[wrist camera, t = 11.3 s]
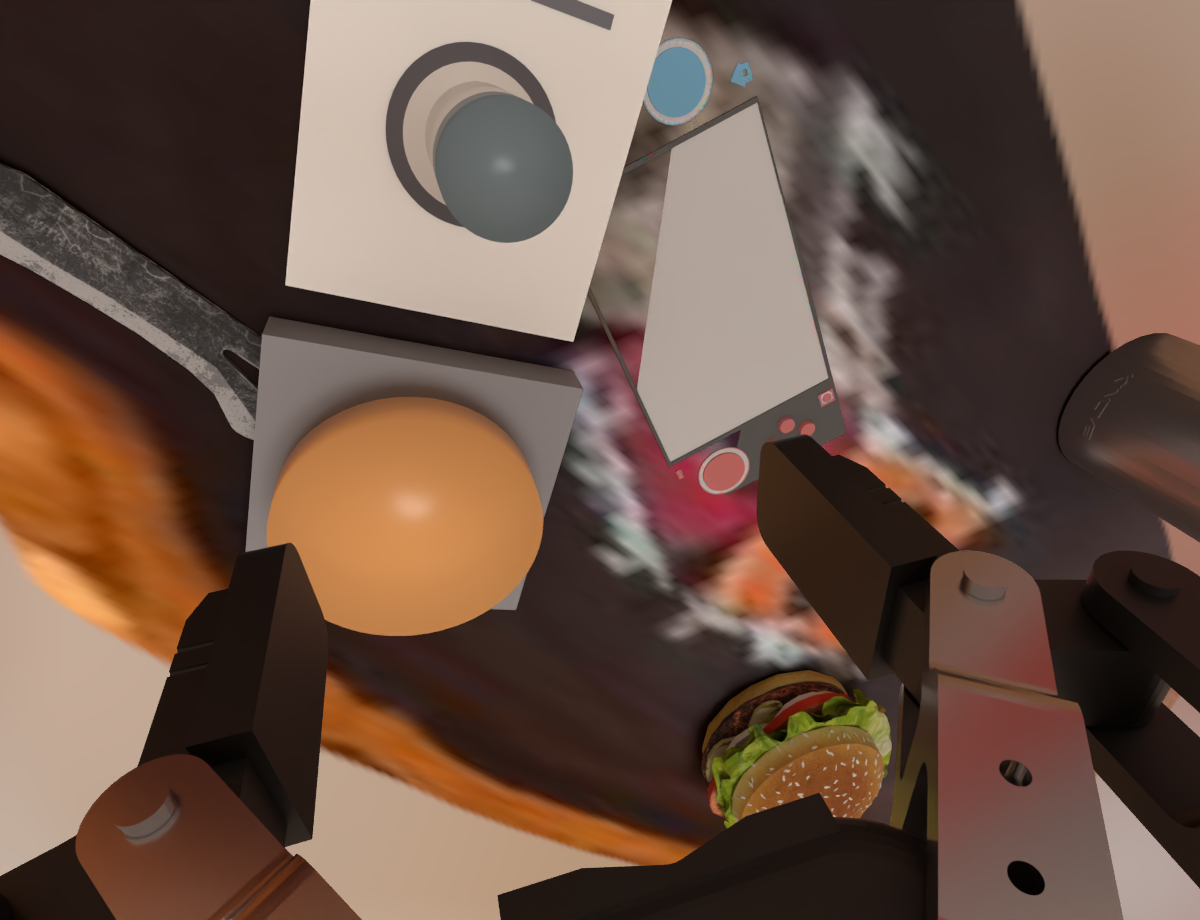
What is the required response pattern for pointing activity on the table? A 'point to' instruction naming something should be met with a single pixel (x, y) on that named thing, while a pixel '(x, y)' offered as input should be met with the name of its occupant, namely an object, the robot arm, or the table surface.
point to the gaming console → (725, 290)
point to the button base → (397, 369)
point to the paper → (403, 170)
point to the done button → (408, 515)
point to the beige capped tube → (498, 162)
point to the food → (795, 747)
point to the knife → (129, 290)
